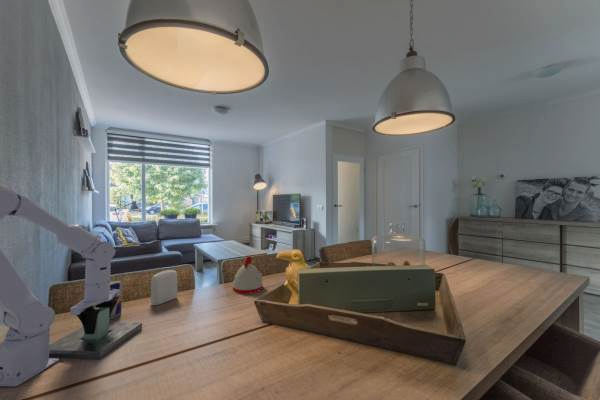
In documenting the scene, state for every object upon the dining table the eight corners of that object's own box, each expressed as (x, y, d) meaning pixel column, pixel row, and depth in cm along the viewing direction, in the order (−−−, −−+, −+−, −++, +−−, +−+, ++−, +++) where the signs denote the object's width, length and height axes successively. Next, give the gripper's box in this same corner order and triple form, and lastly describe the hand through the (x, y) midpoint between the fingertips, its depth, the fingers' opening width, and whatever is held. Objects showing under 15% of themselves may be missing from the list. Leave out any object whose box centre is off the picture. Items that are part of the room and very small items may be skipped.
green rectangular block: (97, 342, 71) (98, 313, 71) (83, 341, 71) (84, 312, 71) (108, 334, 75) (109, 307, 75) (95, 334, 75) (96, 307, 75)
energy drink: (111, 320, 86) (112, 285, 86) (98, 319, 87) (99, 284, 87) (125, 314, 91) (125, 280, 91) (112, 312, 92) (113, 279, 92)
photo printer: (155, 306, 98) (156, 274, 98) (148, 304, 100) (149, 273, 100) (179, 298, 107) (179, 268, 107) (172, 296, 109) (172, 267, 109)
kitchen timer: (265, 284, 126) (266, 254, 126) (257, 294, 112) (257, 260, 113) (239, 283, 128) (239, 253, 128) (227, 292, 114) (228, 259, 114)
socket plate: (99, 359, 64) (99, 351, 64) (40, 357, 65) (40, 349, 65) (142, 328, 80) (142, 322, 80) (93, 327, 81) (93, 321, 81)
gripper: (89, 291, 66) (87, 343, 65) (129, 275, 80) (128, 318, 80) (63, 290, 66) (61, 343, 66) (107, 275, 80) (106, 318, 80)
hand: (96, 329), depth 73 cm, fingers closed on green rectangular block, 4 cm apart
